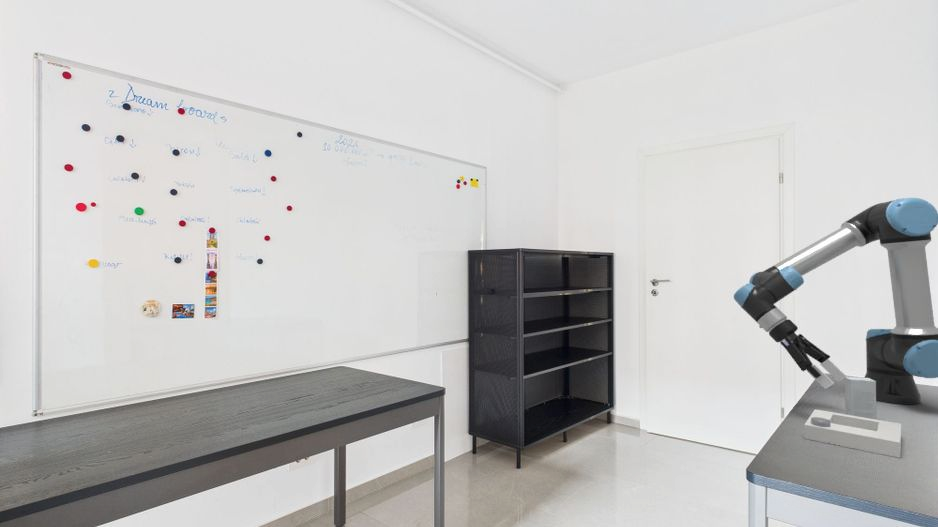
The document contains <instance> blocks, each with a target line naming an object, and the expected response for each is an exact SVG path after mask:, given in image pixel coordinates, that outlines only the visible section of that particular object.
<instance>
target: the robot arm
mask: <svg viewBox="0 0 938 527" xmlns="http://www.w3.org/2000/svg"><path fill="white" fill-rule="evenodd" d="M937 225H938V211H937V209H936V208H935V206H934V205H933V204H932V203H931V202H928V201H927V200H925V199H923V198H918V197H902V198H898V199H894V200H889V201H885V202H880V203H876V204H874V205H872V206H870V207H868V208H866V209H864V210H863V211H861V212H859V213H858V214H856V215H854V216H852V217H851V218H849V219H848V220H846V221H844V222H843V223H841V225H840V228H838V229H837V230H835V231H833V232H831V233H830V234H828V235H825V236H823V238H820V239H819V240H817V241H815V242H813V243H811V244H809V245H807V246H806V247H804V248H802V249H801V250H798V251H797V252H795V253H793V254H792V255H790V256H788V257H786V258H785V259H783V260H781V261H779V262H777V263H775V264H774V265H772V266H770V267H768V268H767V269H765V270H763V271H757V272H756V273H753V274H752V275H751V276H750V279H749V282H748V283H746V284H745V285H743V286H741V287H740V288H739V289H738V290H736V291H735V293H734V294H733V299H734V301H735V302H736V303H737V304H738V305H739V306H740V308H741V309H743V311H745V312H746V314H748V316H750V317H751V318H752V319H753V320H754V321H755V322H756V323H757V324H758V325H759V329H763V330H764V331H765V332H766V333H768V334H769V337H771V338H772V340H774V341H775V343H780V344H781V346H782V347H784V349H785V350H786V352H787V353H788V354H789V356H790V357H791V358H792V359H793V361H794V362H795V364H796V365H797V366H798V367H799V369H800V370H801V371H802V372H805V371H806V372H807V373H808V374H809V375H810V376H811V377H813V379H814V380H815V381H816V382H817V383H818V384H819V385H821V387H822V388H824V389H825V390H826V389H828V388H830V387H832V386H833V385H835V382H834V381H833V380H832V379H831V378H830V377H828V375H826V374H825V373H824V371H822V370H821V368H819V367H818V366H817V365H816V364H813V362H812V361H811V359H810V358H812V359H814V360H815V361H817V362H818V363H819V364H820V366H821V367H822V368H823V369H825V371H826V372H827V373H828V374H830V376H832V377H833V378H834V380H835V381H837V382H838V383H840V382H841V381H843V380H845V377H848V375H846V374H845V373H844V371H842V370H841V369H840V368H838V367H837V365H835V364H834V362H833V361H831V359H830V358H831V356H830V355H829V354H827V352H825V351H823V350H821V349H820V348H819V347H818V346H817V345H815V344H814V343H812V342H811V341H810V340H808V339H807V338H806V337H805V336H804V335H803V334H801V333H799V334H798V335H797V334H796V333H795V332H797V331H798V329H799V328H798V326H797V324H795V323H794V322H793V321H792V320H791V319H790V318H789V319H788V316H787V315H786V314H785V313H783V311H781V310H780V309H779V307H777V306H776V305H775V304H777V302H780V301H781V300H782V299H784V298H785V297H788V295H790V294H791V293H793V292H794V291H797V290H798V289H799V288H800V287H801V286H803V285H804V282H805V280H804V278H803V276H804V275H806V274H808V273H810V272H811V271H813V270H816V269H818V268H819V267H821V266H823V265H825V264H826V263H828V262H830V261H832V260H834V259H836V258H837V257H839V256H841V255H843V254H845V253H846V252H848V251H850V250H852V249H854V248H855V247H861V248H862V247H864V246H866V245H869V244H871V243H872V242H876V241H879V245H880V246H881V247H883V248H885V249H886V251H887V258H888V267H889V274H890V284H891V291H892V300H893V309H894V317H895V327H893V328H870V329H868V330H867V332H866V335H865V336H866V337H865V344H866V347H865V350H866V351H865V352H866V373H865V375H864V377H863V378H870V379H872V380H874V381H876V401H879V402H885V403H890V404H891V403H892V404H899V405H918V404H920V403H922V402H921V393H920V392H919V391H920V390H919V389H918V386H917V384H916V381H915V379H914V377H917V378H925V379H937V378H938V327H937V326H936V325H935V320H934V319H935V318H934V311H933V301H932V294H931V286H930V284H931V283H930V277H929V271H928V270H929V267H928V261H927V260H928V259H927V253H926V246H927V245H928V244H930V243H931V242H932V235H931V232H933V231H934V230H935V228H936V227H937Z"/></svg>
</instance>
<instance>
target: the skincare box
mask: <svg viewBox="0 0 938 527" xmlns="http://www.w3.org/2000/svg"><path fill="white" fill-rule="evenodd" d="M844 412H845V414H846V415H852V416H858V417H864V418H870V419H876V420H878V419H877V400H876V381H874V380H872V379H870V378H864V377H858V376H857V377H855V376H847V377H845V378H844Z"/></svg>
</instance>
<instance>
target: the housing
mask: <svg viewBox="0 0 938 527" xmlns="http://www.w3.org/2000/svg"><path fill="white" fill-rule="evenodd" d="M876 419H877V418H876ZM876 419H870V418H864V417H858V416H852V415H846V414H844V413H838V412H833V411H826V410H821V409H813V412H812V413H811V414H810V416H809V417H808V419H807V420H806V422H805V423H804V426H803V428H804V429H803V430H804V436H803V437H804V439H805V440H810V441H815V442H820V443H825V444H829V443H830V444H829V445H834V444H835V446H839V445H840V446H839V447H845V448H849V449H853V448H854V449H853V450H859V451H862V452H863V451H864V452H869V453H872V454H873V453H875V454H880V455H884V456H889V457H893V458H899V459H901V454H902V449H901V448H902V423H899V422H893V421H887V420H880V419H877V420H876Z"/></svg>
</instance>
